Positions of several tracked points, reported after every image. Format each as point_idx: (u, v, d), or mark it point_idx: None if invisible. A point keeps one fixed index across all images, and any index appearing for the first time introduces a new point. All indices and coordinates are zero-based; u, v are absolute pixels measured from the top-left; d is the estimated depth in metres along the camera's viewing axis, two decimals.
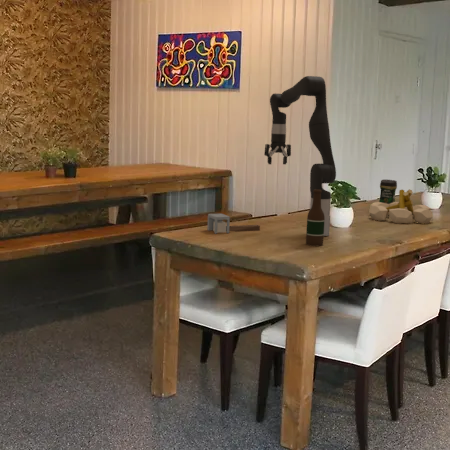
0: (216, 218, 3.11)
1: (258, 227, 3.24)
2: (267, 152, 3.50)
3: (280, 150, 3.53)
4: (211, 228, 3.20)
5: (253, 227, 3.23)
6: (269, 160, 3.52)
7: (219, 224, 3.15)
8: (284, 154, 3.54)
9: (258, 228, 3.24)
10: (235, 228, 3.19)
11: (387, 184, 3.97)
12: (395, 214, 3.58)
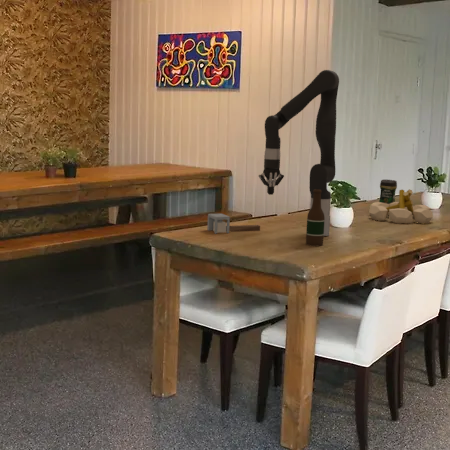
0: (216, 218, 3.11)
1: (258, 227, 3.24)
2: (265, 182, 3.22)
3: (272, 175, 3.23)
4: (211, 228, 3.20)
5: (253, 227, 3.23)
6: (269, 190, 3.24)
7: (219, 224, 3.15)
8: (272, 182, 3.23)
9: (258, 228, 3.24)
10: (235, 228, 3.20)
11: (387, 184, 3.97)
12: (395, 214, 3.58)
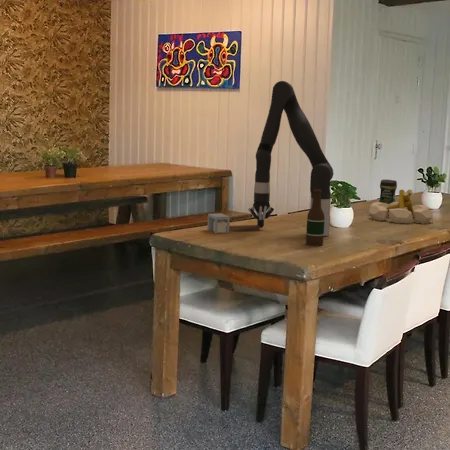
0: (216, 218, 3.11)
1: (258, 227, 3.23)
2: (255, 216, 3.23)
3: (262, 209, 3.24)
4: (211, 228, 3.20)
5: (252, 227, 3.22)
6: (259, 223, 3.25)
7: (219, 224, 3.15)
8: (262, 215, 3.24)
9: (258, 228, 3.23)
10: (234, 228, 3.19)
11: (387, 184, 3.97)
12: (395, 214, 3.58)
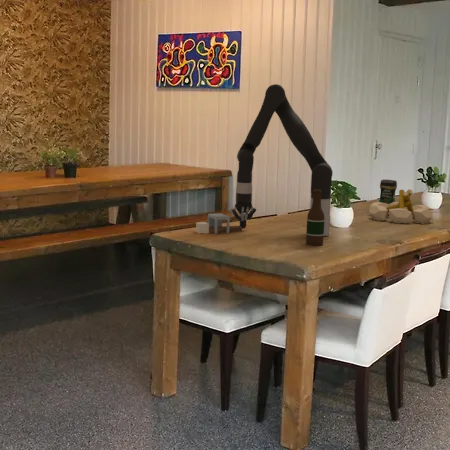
0: (216, 218, 3.11)
1: (240, 228, 3.20)
2: (237, 216, 3.19)
3: (244, 209, 3.20)
4: None
5: (235, 228, 3.18)
6: (241, 224, 3.21)
7: (202, 225, 3.11)
8: (244, 216, 3.21)
9: (240, 229, 3.20)
10: (217, 229, 3.15)
11: (387, 184, 3.97)
12: (395, 214, 3.58)
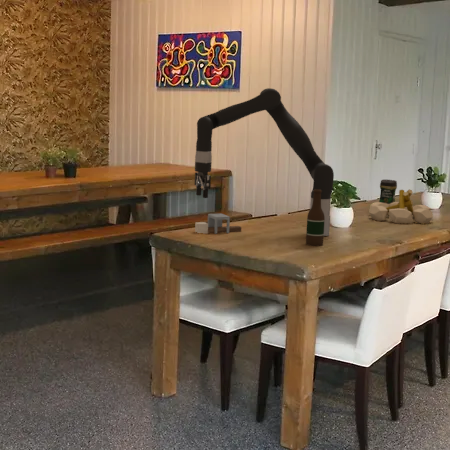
0: (216, 218, 3.11)
1: (239, 228, 3.19)
2: (195, 181, 3.16)
3: (200, 181, 3.09)
4: None
5: (234, 228, 3.18)
6: None
7: (201, 225, 3.11)
8: None
9: (239, 229, 3.19)
10: None
11: (387, 184, 3.97)
12: (395, 214, 3.58)
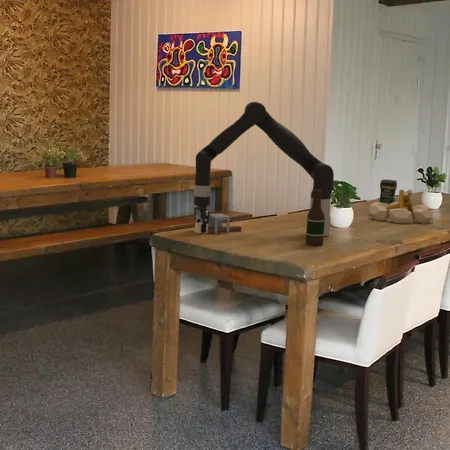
0: (216, 218, 3.11)
1: (239, 228, 3.19)
2: (194, 216, 3.18)
3: None
4: None
5: (234, 228, 3.18)
6: None
7: None
8: (201, 220, 3.11)
9: (239, 229, 3.19)
10: None
11: (387, 184, 3.97)
12: (395, 214, 3.58)
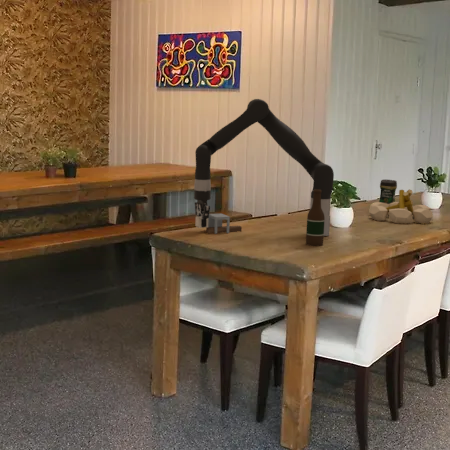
0: (216, 218, 3.11)
1: (240, 228, 3.20)
2: (195, 211, 3.17)
3: (200, 208, 3.12)
4: None
5: (235, 228, 3.19)
6: None
7: None
8: (201, 214, 3.11)
9: (240, 229, 3.20)
10: (217, 229, 3.14)
11: (387, 184, 3.97)
12: (395, 214, 3.58)
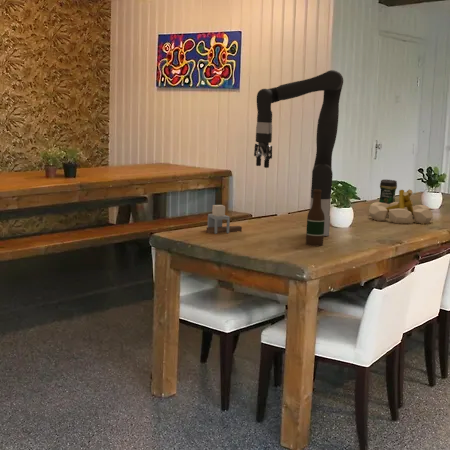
0: (216, 218, 3.11)
1: (240, 228, 3.20)
2: (254, 152, 3.26)
3: (261, 151, 3.19)
4: None
5: (235, 228, 3.19)
6: None
7: (218, 207, 3.13)
8: None
9: (240, 229, 3.20)
10: (217, 229, 3.15)
11: (387, 184, 3.97)
12: (395, 214, 3.58)
